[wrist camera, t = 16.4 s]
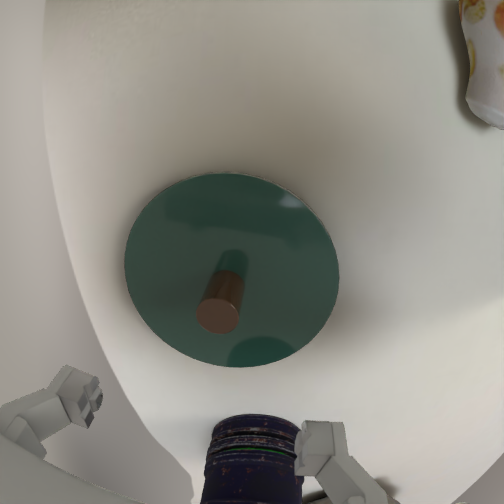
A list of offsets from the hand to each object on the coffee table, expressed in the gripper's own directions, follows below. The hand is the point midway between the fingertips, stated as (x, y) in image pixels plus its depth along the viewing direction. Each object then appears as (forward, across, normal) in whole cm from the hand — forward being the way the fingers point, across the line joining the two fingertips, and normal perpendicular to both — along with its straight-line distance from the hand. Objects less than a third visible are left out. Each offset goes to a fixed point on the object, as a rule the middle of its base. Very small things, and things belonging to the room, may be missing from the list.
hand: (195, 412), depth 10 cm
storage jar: (+12, -5, +19) cm, 23 cm away
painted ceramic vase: (+12, -15, -19) cm, 27 cm away
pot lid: (+11, 0, 0) cm, 11 cm away
